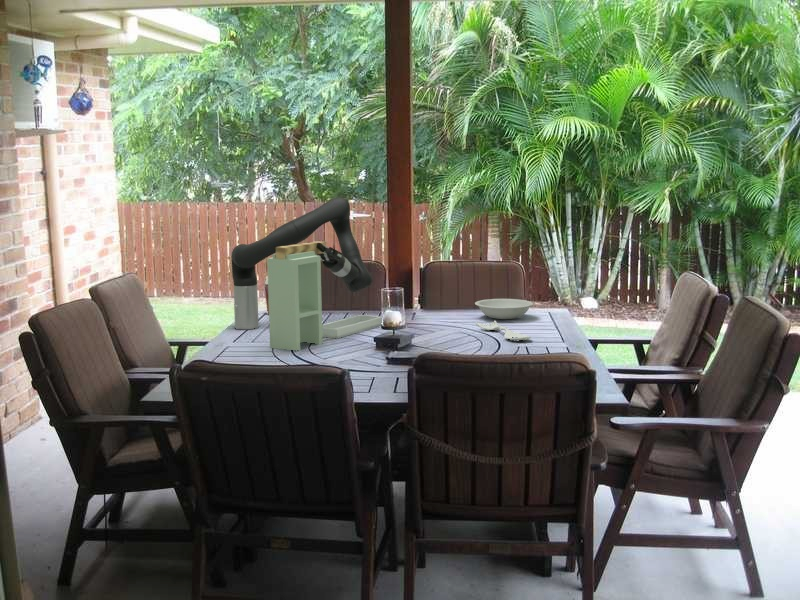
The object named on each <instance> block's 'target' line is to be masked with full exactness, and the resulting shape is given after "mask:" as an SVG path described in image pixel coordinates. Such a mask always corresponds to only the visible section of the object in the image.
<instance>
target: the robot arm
mask: <svg viewBox="0 0 800 600" xmlns="http://www.w3.org/2000/svg"><path fill="white" fill-rule="evenodd" d="M350 216H351V205H350V202H349V200H348V199H346V198H345V197H341V196H337V197H333V198H331V199H329V200H327V201H326V202H325V203H323V204H321V205H320V206H318V207H316V208H314V209H313V210H311V211H309V212H307V213H305V214H302V215H301V216H299V217H297V218H294V219H291V220H290V221H288V222H286V223H284V224H281V225H279V227H276V229H274V230H273V231H272V232H271V233H269V234H267V235H266V236H265V237H263V238H261V239H259V240H256V241H253V242H251V243H249V244H247V243H241V244H237V245H236V246H234V248H233V249H232V252H231V273H232V281H233V300H234V301H233V310H234V328H236V329H235V330H255V329H258V328H259V326H260V324H259V323H260V322H259V300H258V298H259V297H258V278H257V273H256V265H257V264H259V263H260V262H262V261H264V260H265V259H267V258H269V257H270V256H273V254H276V247H281V246H288V245H295V244H301V243H302V242H303V241H305V240H306V239H308V238H309V237H310V236H311V235H312V234H314V233H315V232H316V231H317V230H318V229H319V228H320V227H322V226H323V225H325V224H326V223H329V222H330V224H331V226H332V228H333V231H334V233H335V235H336V237H337V240H338V244H339V245H338V246H339V249H340V251H339V250H336V249H335V248H333V247H331V246H330V247H328V246H327V245H326V246H324V245H322V244H321V243H319V242H320V241H318V243H317V246H316V247H317V249H319V250H320V251H321V252H323V253H321V254H315V256H320V257H321V261H322V265H323V267H324V268H326V270H328V271H330V272H331V273H332V274H334V275H335V276H337V277H339V278H340V279H341V280H342V281H343V282H344V284H345V287H346V288H347V290H348V291H350V292H352V293H356V292H359V291H361V290H363V289H366V288H368V287H370V286H371V285H372V283H373V277H372V274H371V272H369V270H368V268H367V266H366V265H365V263H364V261H363V259H362V256H361V253H360V249H359V247H358V243H357V242H356V240H355V238H354V236H353V232H352V229H351V222H350ZM306 243H310V241H307V242H306ZM254 328H255V329H254Z"/></svg>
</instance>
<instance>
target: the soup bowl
mask: <svg viewBox="0 0 800 600" xmlns="http://www.w3.org/2000/svg"><path fill="white" fill-rule="evenodd" d="M474 304H475V305H476V306H478V308H479V310H480V311H481V312H482V314H484V315H485V316H486V317H489V318H492V319H496V320H512V319H517V318H520V317H522V316H524V315H525V314H526V313H527V312H528V311H529V309H530V307H533V306H534V302H533V301H529V300H525V299H518V298H517V299H516V298H490V299H482V300H477V301H475V302H474Z"/></svg>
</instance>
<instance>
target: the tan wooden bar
mask: <svg viewBox="0 0 800 600" xmlns="http://www.w3.org/2000/svg"><path fill="white" fill-rule="evenodd" d="M309 242H310V241H309ZM318 242H319V243H321V244H322V245H324V246H327V241H311V242H310V243H307V242H305V243H304V242H303V243H302V242H301V243H298V244H295V245H288V246H281V247H276V253H275V254H276V259H286V255H290V254H297V253H304V252H311V251H315V254H321V253H323V252H321V251H320V250H319V249H317V247H316V246H317V243H318Z"/></svg>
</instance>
